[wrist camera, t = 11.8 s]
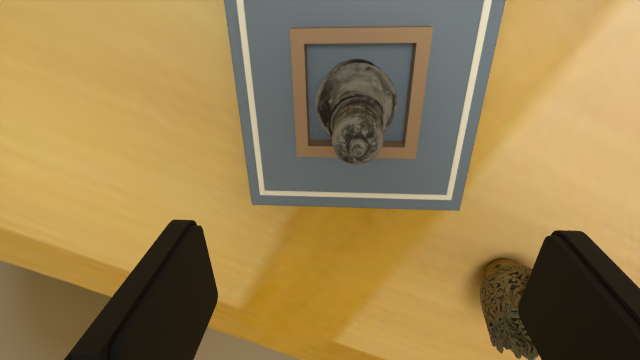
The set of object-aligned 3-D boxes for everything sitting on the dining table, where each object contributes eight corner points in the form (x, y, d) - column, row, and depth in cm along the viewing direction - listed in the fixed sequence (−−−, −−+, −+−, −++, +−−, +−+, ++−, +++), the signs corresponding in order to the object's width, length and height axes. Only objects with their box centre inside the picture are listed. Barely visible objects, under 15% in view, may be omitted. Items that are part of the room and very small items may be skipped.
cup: (450, 278, 37) (473, 343, 30) (494, 231, 34) (532, 292, 27) (505, 302, 38) (540, 370, 31) (553, 259, 35) (605, 325, 28)
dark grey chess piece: (407, 90, 27) (444, 152, 16) (355, 140, 29) (358, 222, 18) (354, 37, 25) (357, 66, 15) (304, 94, 27) (275, 155, 17)
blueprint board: (219, -67, 23) (206, -74, 21) (516, -78, 22) (534, -86, 20) (254, 199, 34) (248, 213, 32) (456, 204, 32) (463, 219, 30)
